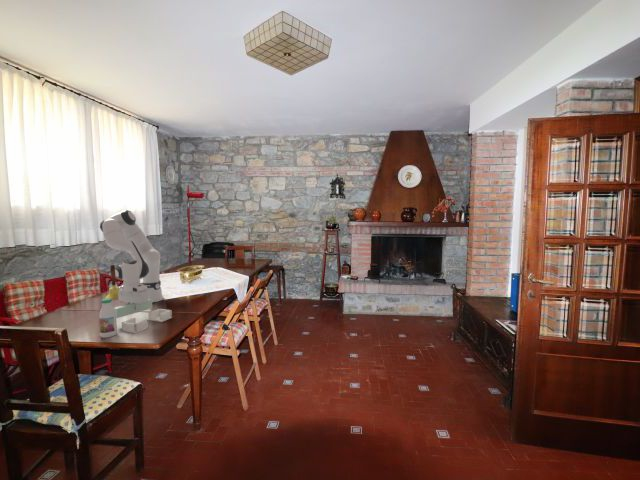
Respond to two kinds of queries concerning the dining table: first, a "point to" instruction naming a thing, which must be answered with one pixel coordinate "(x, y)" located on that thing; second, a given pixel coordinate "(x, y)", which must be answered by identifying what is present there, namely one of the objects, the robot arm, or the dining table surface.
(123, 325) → the endcap
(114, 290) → the handbell
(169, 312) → the endcap
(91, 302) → the dining table surface
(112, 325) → the milk bottle
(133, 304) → the slat
